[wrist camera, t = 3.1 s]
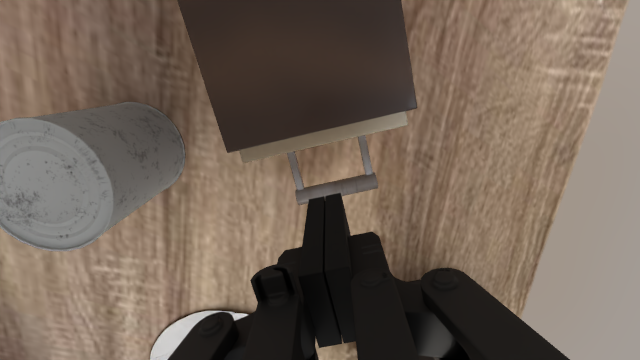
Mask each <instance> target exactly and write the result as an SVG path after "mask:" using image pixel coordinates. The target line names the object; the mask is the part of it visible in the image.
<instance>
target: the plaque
mask: <svg viewBox="0 0 640 360" xmlns="http://www.w3.org/2000/svg"><path fill="white" fill-rule="evenodd" d="M217 312H229V311H203V312H199V313H194V314H192V315H189V316H187V317H185V318H183V319H180V320H178V321H177V322H175V323H174V324H172V325H171V326H169V327H168V328H167V329H166V330H165V331H164V332H163V333H162V334H161V335H160V336H159V338H158V339H157V341H156V342H155V344H154V346H153V348H152V351H151V356H150V360H167V359H168V358H169V357H170V356H171V354H172V353H173V352H174V351H175V349H176V348H177V347H178V346H179V344H180V343H181V342H182V340H183V339H184V338H185V337H186V335H187V334H188V333H189V332H190V330H191V329H192V328H193V327H194V326H195V325H196V324H197V323H198V322H199V321H200V320H202V319H203V318H205V317H206V316H208V315H211V314H213V313H217ZM229 313H230V314H231V315H232V316H233V318H234V321H235V320H238V319H240V318H243V317H245V316H247V315H248V314H243V313H234V312H229Z"/></svg>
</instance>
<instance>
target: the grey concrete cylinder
mask: <svg viewBox="0 0 640 360" xmlns="http://www.w3.org/2000/svg"><path fill="white" fill-rule="evenodd" d="M184 163H185V148H184V143H183V140H182V137H181V135H180V133H179V131H178V130H177V128H176V126H175V125H174V124H173V122H172V121H171V120H170V119H169V118H168V117H167V116H166V115H164V114H163V113H162V112H160V111H159V110H157V109H155V108H153V107H151V106H149V105H147V104H142V103H138V102H123V103H119V104H115V105H109V106H103V107H96V108H90V109H83V110H76V111H70V112H63V113H57V114H50V115H43V116H37V117H30V118H14V119H10V120H7V121H3V122H0V227H1V228H2V229H3V230H4V231H5V232H6V233H8V234H9V235H11V236H12V237H14V238H16V239H17V240H19V241H21V242H23V243H25V244H28V245H30V246H33V247H35V248H39V249H44V250H49V251H70V250H75V249H80V248H82V247H85V246H87V245H89V244H91V243H93V242H94V241H95V240H97V239H98V238H99V237H100V236H101V235H102V234H103V233H104V232H106V231H107V230H109V229H110V228H111V227H113V226H114V225H116V224H117V223H118V222H120V221H121V220H122V219H124V218H125V217H127V216H128V215H129V214H131V213H132V212H134V211H135V210H136V209H138V208H139V207H141V206H142V205H143V204H145V203H146V202H148V201H149V200H150V199H152V198H153V197H154V196H156V195H157V194H159V193H160V192H161V191H163V190H165V189H167V188H169V187H170V186H171V185H172V184H173V183H174V182H176V180H177V179H178V177H179V176H180V175H181V172H182V170H183V167H184Z"/></svg>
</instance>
